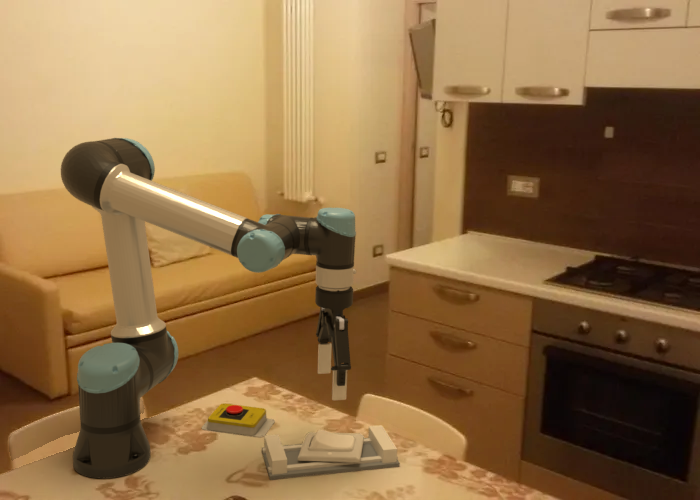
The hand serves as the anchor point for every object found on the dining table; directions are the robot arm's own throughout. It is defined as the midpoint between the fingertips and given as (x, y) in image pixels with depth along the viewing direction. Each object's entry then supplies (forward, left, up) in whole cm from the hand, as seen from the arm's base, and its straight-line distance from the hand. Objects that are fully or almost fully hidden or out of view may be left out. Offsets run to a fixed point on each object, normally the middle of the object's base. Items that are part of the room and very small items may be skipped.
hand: (331, 385), depth 153 cm
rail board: (0, 0, -16) cm, 16 cm away
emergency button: (-17, +19, -17) cm, 31 cm away
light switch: (+1, +1, -15) cm, 15 cm away
